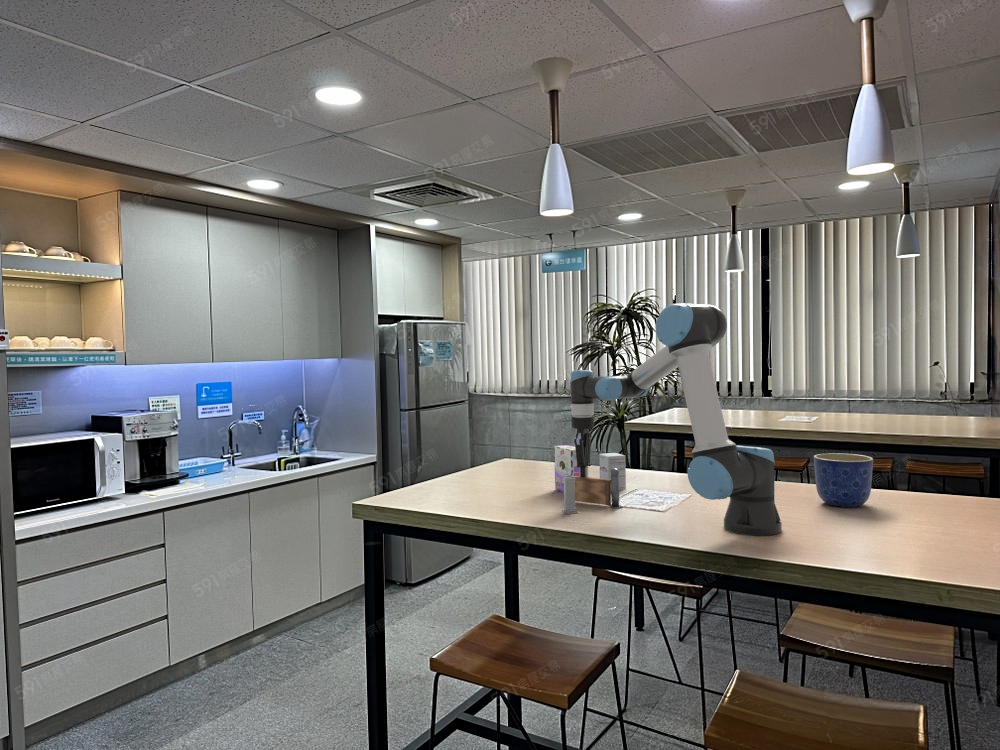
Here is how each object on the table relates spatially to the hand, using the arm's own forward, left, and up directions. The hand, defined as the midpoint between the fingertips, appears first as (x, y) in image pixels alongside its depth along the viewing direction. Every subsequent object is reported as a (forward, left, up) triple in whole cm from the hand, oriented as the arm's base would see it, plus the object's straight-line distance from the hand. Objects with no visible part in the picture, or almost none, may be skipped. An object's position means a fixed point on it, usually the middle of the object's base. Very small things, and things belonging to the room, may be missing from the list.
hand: (584, 485), depth 228 cm
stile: (-13, +8, -5) cm, 16 cm away
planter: (-24, -79, -6) cm, 82 cm away
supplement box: (+20, -17, -6) cm, 27 cm away
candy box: (+17, 0, -6) cm, 18 cm away
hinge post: (-10, -8, -5) cm, 14 cm away
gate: (-3, -1, -5) cm, 6 cm away
